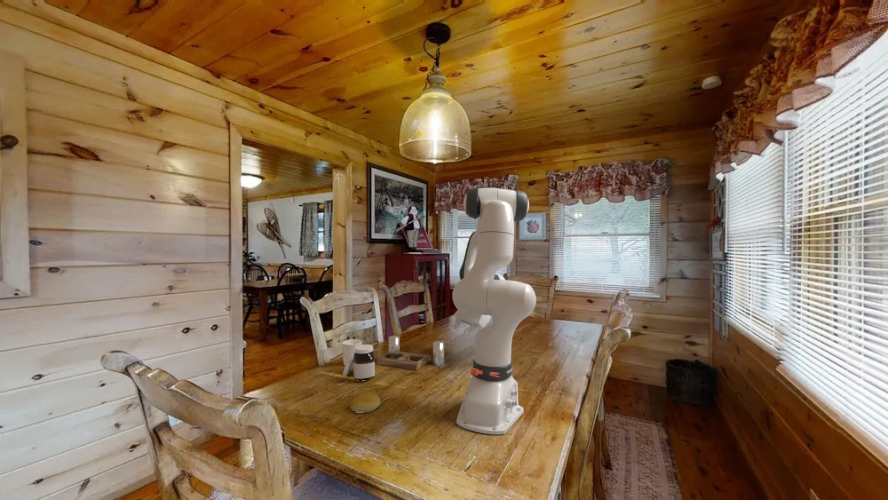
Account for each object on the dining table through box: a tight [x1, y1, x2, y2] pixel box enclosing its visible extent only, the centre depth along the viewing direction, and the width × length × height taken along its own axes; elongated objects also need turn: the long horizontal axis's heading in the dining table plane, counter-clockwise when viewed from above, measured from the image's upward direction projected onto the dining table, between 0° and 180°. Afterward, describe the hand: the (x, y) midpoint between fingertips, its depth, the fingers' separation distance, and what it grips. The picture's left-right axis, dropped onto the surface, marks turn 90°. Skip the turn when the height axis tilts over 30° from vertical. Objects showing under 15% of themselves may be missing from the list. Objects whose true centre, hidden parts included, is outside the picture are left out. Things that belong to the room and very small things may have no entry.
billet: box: [432, 340, 445, 369], centre depth 138 cm, size 4×4×10 cm
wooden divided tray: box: [376, 350, 431, 371], centre depth 139 cm, size 12×18×3 cm, turn 67°
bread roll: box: [349, 391, 382, 413], centre depth 103 cm, size 8×9×4 cm
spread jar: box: [342, 344, 376, 381], centre depth 126 cm, size 12×11×12 cm
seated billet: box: [388, 335, 401, 359], centre depth 141 cm, size 4×4×10 cm
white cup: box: [341, 338, 363, 367], centre depth 138 cm, size 8×8×10 cm
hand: (459, 331), depth 142 cm, fingers open, 8 cm apart
